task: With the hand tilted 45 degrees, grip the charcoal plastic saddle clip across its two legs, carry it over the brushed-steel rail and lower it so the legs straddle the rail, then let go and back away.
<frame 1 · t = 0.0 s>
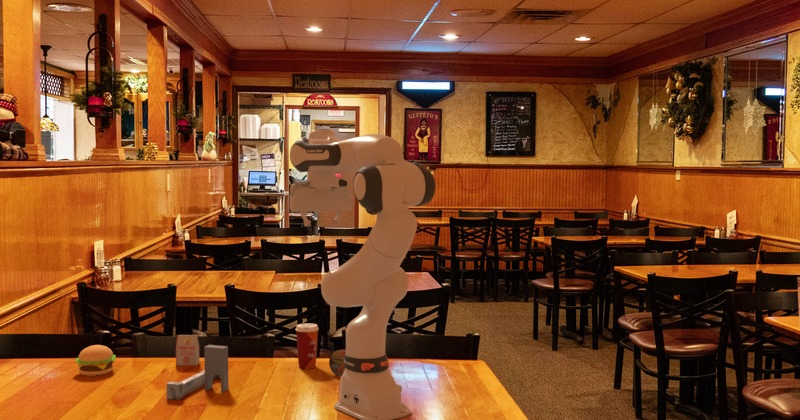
hand: (321, 225, 233), 48 cm above the table, tool pointing down, fingers open, 8 cm apart
hamburger: (96, 372, 240), on the table
paper cup: (307, 367, 247), on the table
tin: (351, 377, 236), on the table
clip: (216, 389, 222), on the table
printed food carton: (187, 365, 249), on the table
rail: (195, 387, 224), on the table
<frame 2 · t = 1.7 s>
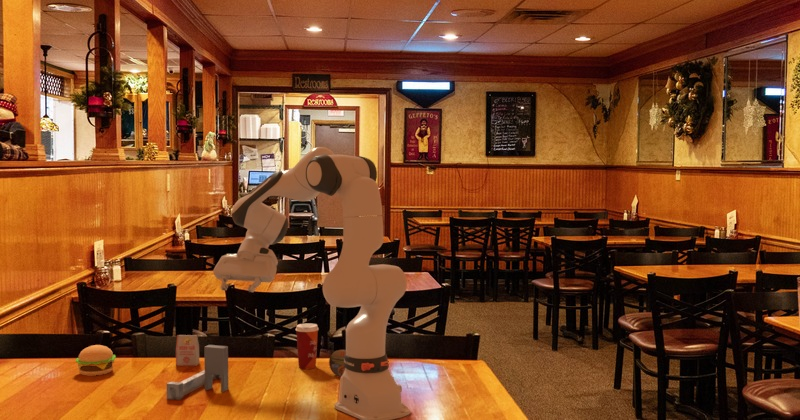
hand: (236, 290, 232), 28 cm above the table, tool tilted 45°, fingers open, 8 cm apart
nothing on the table moved.
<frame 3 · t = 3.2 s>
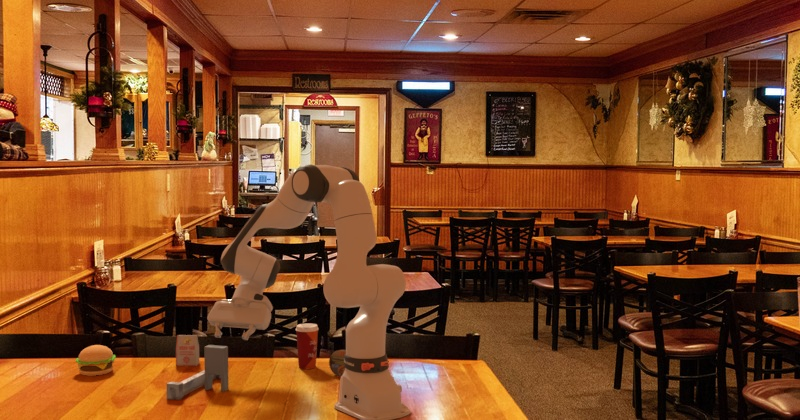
hand: (230, 337, 229), 14 cm above the table, tool tilted 45°, fingers open, 8 cm apart
nothing on the table moved.
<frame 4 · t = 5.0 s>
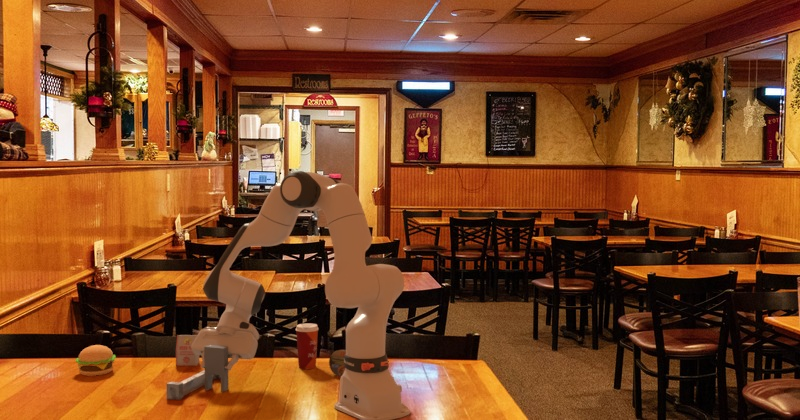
hand: (215, 368, 221), 7 cm above the table, tool tilted 45°, fingers closed on clip, 6 cm apart
clip: (216, 389, 222), on the table, touching gripper
everything else where it was.
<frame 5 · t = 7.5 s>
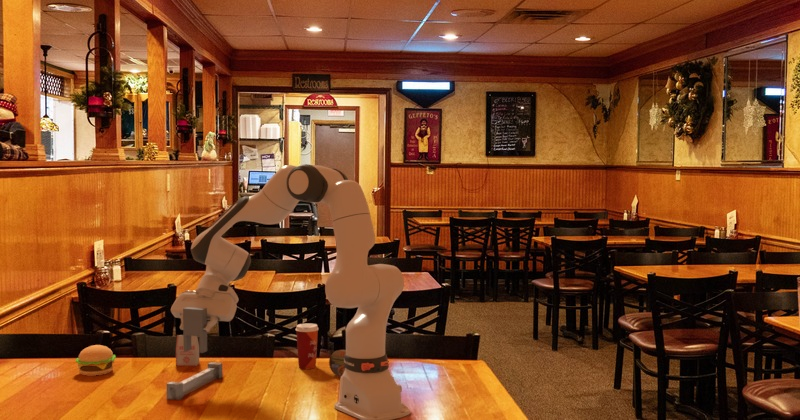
hand: (194, 330, 222), 18 cm above the table, tool tilted 45°, fingers closed on clip, 6 cm apart
clip: (195, 351, 223), point 11 cm above the table, touching gripper
everything else where it was.
when the fingers open (8 cm above the table, at t = 10.2 s): clip stays where it is, on the table.
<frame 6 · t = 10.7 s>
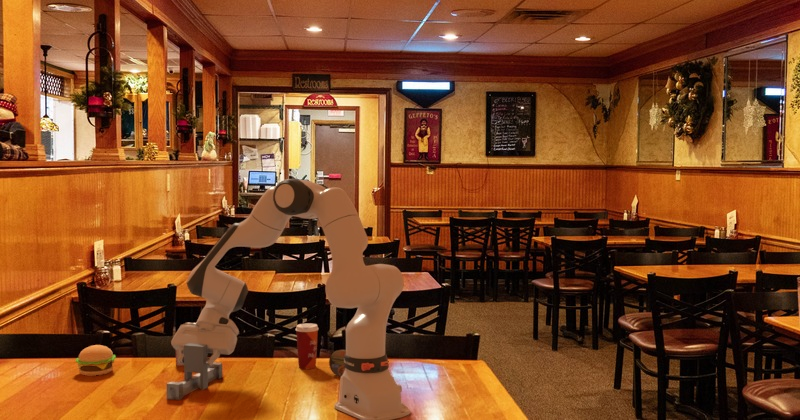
hand: (194, 363, 222), 8 cm above the table, tool tilted 45°, fingers open, 8 cm apart
clip: (196, 387, 224), on the table
everything else where it was.
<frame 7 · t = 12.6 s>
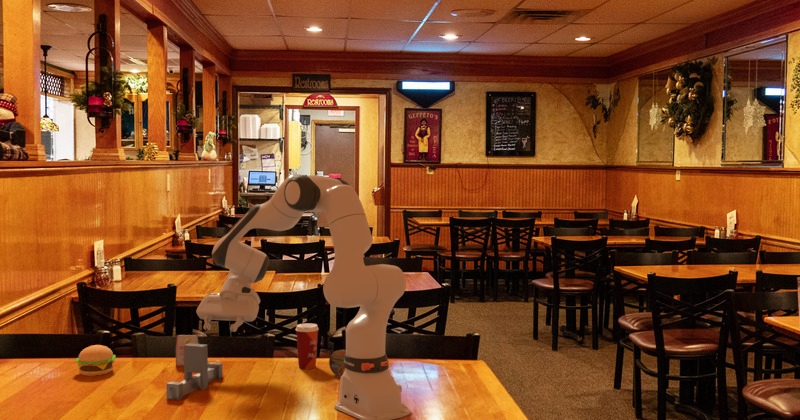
hand: (219, 329, 235), 15 cm above the table, tool tilted 45°, fingers open, 8 cm apart
nothing on the table moved.
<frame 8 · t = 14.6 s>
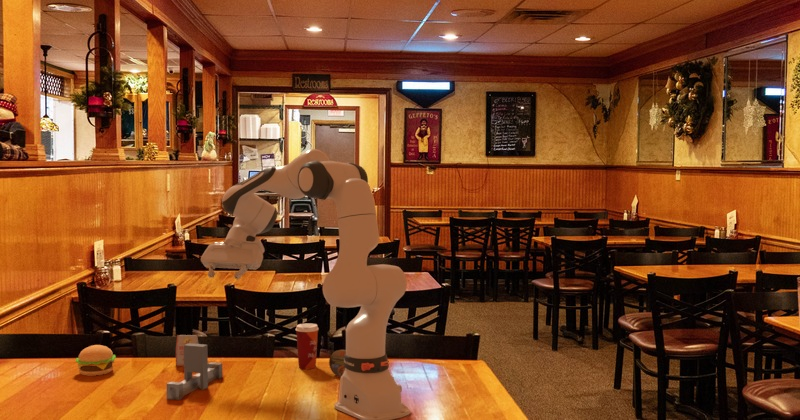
hand: (223, 277, 236), 31 cm above the table, tool tilted 45°, fingers open, 8 cm apart
nothing on the table moved.
at the end: clip 0.1 cm off-centre on the rail, point 0.0 cm above the rail's base; clip tilted 0°; the gripper is holding nothing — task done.
